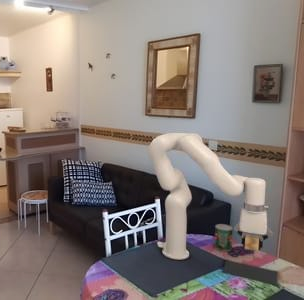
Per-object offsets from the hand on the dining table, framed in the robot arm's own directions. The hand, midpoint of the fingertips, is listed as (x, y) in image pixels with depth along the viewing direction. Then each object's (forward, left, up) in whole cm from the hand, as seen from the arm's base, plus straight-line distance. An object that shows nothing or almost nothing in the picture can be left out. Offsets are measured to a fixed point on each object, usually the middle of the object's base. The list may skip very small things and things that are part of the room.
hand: (251, 247), depth 138 cm
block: (0, 0, 0) cm, 0 cm away
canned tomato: (-13, +20, -12) cm, 27 cm away
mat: (0, 0, -12) cm, 12 cm away
